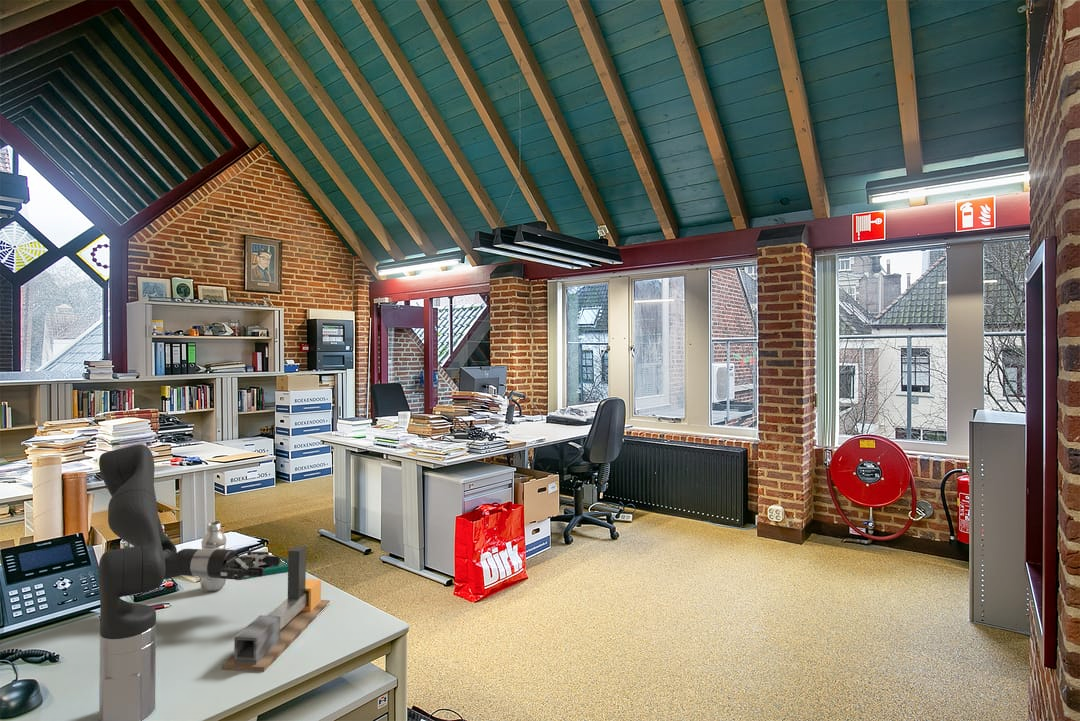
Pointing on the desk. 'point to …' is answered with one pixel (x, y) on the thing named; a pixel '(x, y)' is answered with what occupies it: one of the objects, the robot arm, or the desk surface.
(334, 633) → the desk surface
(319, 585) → the far socket
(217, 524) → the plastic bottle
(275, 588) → the desk surface
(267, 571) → the digital multimeter
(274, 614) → the slide bolt
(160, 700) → the desk surface
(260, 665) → the bolt guide base
